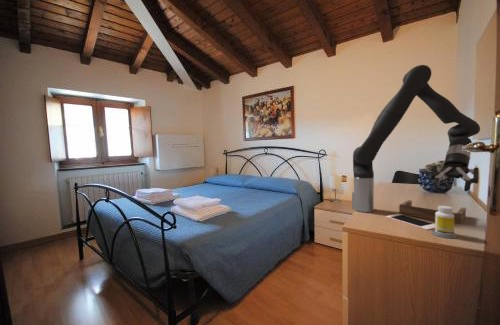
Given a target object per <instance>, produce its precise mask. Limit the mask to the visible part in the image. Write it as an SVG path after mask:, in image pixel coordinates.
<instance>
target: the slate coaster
mask: <svg viewBox="0 0 500 325" xmlns="http://www.w3.org/2000/svg"><path fill="white" fill-rule="evenodd" d="M431 234H432V235H434V236H436V237H439V238H444V239H451V240H452V239H456V238H458V235H457V234H456V233H455V232H454V234H453V235H443V234H439V233H437V232H435V229H431Z"/></svg>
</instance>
